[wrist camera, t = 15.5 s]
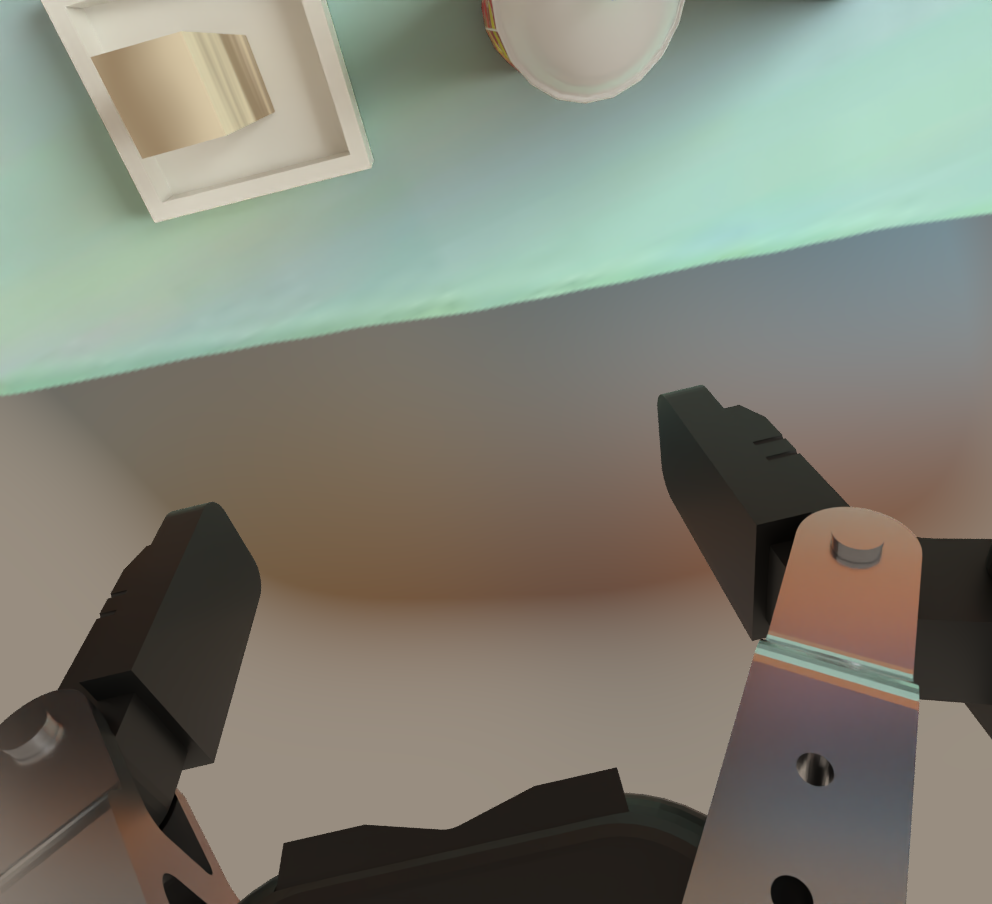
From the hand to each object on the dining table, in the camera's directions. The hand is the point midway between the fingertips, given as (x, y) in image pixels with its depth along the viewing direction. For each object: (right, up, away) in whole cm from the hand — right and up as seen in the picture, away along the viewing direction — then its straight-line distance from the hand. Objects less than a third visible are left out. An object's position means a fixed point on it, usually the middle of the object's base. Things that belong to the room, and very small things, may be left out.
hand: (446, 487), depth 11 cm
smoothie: (+3, +28, +26) cm, 38 cm away
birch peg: (-15, +23, +26) cm, 37 cm away
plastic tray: (-15, +23, +26) cm, 38 cm away
